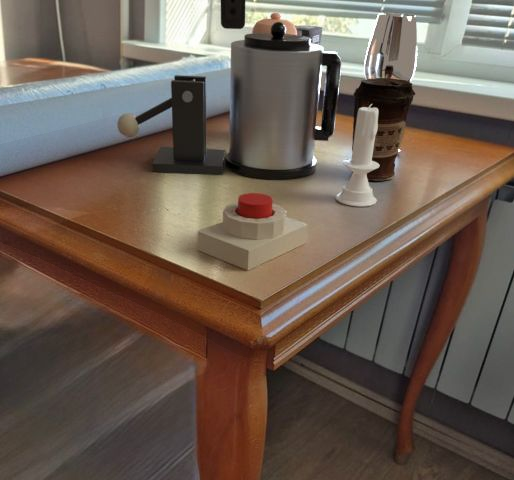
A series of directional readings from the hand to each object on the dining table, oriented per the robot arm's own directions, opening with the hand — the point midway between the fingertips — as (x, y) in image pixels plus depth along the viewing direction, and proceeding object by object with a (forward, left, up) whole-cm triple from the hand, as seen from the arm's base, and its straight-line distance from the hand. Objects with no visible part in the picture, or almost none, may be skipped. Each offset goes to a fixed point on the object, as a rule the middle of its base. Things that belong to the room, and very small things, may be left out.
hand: (233, 24), depth 59 cm
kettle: (+6, +25, -21) cm, 33 cm away
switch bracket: (-7, +24, -21) cm, 32 cm away
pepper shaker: (+5, +40, -21) cm, 46 cm away
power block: (+3, -5, -21) cm, 22 cm away
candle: (+16, +11, -21) cm, 29 cm away
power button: (+3, -5, -17) cm, 18 cm away
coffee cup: (+20, +22, -21) cm, 37 cm away
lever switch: (-10, +24, -15) cm, 30 cm away
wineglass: (+23, +36, -21) cm, 48 cm away
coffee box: (+10, +56, -21) cm, 61 cm away
